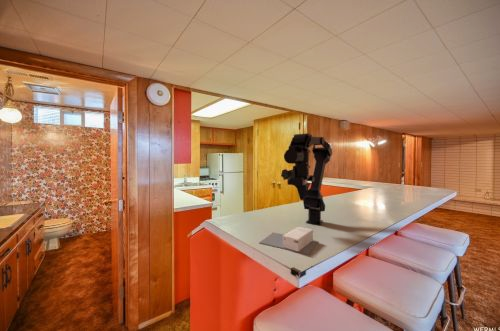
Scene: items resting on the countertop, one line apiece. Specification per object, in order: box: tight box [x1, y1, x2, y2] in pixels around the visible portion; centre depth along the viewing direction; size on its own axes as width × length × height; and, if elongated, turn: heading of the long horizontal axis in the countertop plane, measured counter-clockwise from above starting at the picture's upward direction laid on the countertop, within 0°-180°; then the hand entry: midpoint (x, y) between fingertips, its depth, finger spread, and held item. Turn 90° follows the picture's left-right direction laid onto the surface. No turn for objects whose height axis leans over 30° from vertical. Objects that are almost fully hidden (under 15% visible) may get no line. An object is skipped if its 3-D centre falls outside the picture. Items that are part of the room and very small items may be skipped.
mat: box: [258, 232, 319, 256], centre depth 75 cm, size 12×18×1 cm, turn 59°
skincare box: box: [283, 226, 314, 251], centre depth 73 cm, size 6×4×12 cm
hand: (301, 199), depth 88 cm, fingers closed
